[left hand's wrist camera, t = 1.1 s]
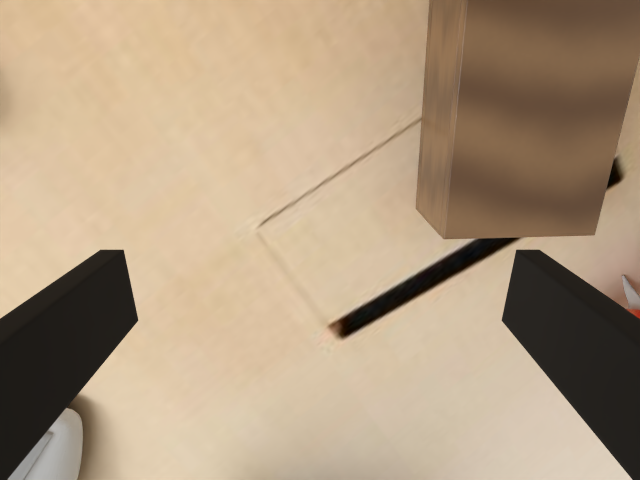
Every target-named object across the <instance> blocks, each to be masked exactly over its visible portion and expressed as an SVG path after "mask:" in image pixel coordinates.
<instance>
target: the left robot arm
mask: <svg viewBox="0 0 640 480" xmlns="http://www.w3.org/2000/svg"><path fill="white" fill-rule="evenodd" d="M137 321H138V317H137V312H136V307H135V302H134V298H133V293H132V288H131V283H130V278H129V273H128V269H127V264H126V259H125V254H124V250H100V251H98V252H97V253H95V254H94V255H92V256H91V257H90V258H88V259H87V260H85V261H84V262H82V263H81V264H79V265H78V266H76V267H75V268H74V269H72V270H71V271H69V272H68V273H66V274H65V275H63V276H62V277H60V278H59V279H57V280H56V281H55V282H53V283H52V284H50V285H49V286H47V287H46V288H44V289H43V290H41V291H40V292H39V293H37V294H36V295H34V296H33V297H31V298H30V299H28V300H27V301H25V302H24V303H23V304H21V305H20V306H18V307H17V308H15V309H14V310H12V311H11V312H9V313H8V314H6V315H5V316H4V317H2V318H1V319H0V480H7V479H8V478H9V477H10V476H11V475H12V473H13V472H14V471H15V470H16V468H17V467H18V466H19V465H20V464H21V462H22V461H23V460H24V459H25V458H26V456H27V455H28V454H29V453H30V451H31V450H32V449H33V448H34V447H35V445H36V444H37V443H38V442H39V441H40V439H41V438H42V437H43V436H44V434H45V433H46V432H47V431H48V430H49V428H50V427H51V426H52V425H53V423H54V422H55V421H56V420H57V419H58V417H59V416H60V415H61V414H62V413H63V411H64V410H65V409H66V408H67V406H68V405H69V404H70V403H71V402H72V400H73V399H74V398H75V397H76V396H77V394H78V393H79V392H80V391H81V389H82V388H83V387H84V386H85V385H86V383H87V382H88V381H89V380H90V378H91V377H92V376H93V375H94V374H95V372H96V371H97V370H98V369H99V368H100V366H101V365H102V364H103V363H104V361H105V360H106V359H107V358H108V357H109V355H110V354H111V353H112V352H113V350H114V349H115V348H116V347H117V346H118V344H119V343H120V342H121V341H122V340H123V338H124V337H125V336H126V335H127V333H128V332H129V331H130V330H131V329H132V327H133V326H134V325H135V324H136V323H137ZM502 321H503V323H504V324H505V325H506V326H507V327H508V329H509V330H510V331H511V332H512V333H513V335H514V336H515V337H516V338H517V340H518V341H519V342H520V343H521V344H522V346H523V347H524V348H525V349H526V350H527V352H528V353H529V354H530V355H531V357H532V358H533V359H534V360H535V361H536V363H537V364H538V365H539V366H540V368H541V369H542V370H543V371H544V372H545V374H546V375H547V376H548V377H549V378H550V380H551V381H552V382H553V383H554V385H555V386H556V387H557V388H558V389H559V391H560V392H561V393H562V394H563V396H564V397H565V398H566V399H567V400H568V402H569V403H570V404H571V405H572V406H573V408H574V409H575V410H576V411H577V413H578V414H579V415H580V416H581V417H582V419H583V420H584V421H585V422H586V423H587V425H588V426H589V427H590V428H591V430H592V431H593V432H594V433H595V434H596V436H597V437H598V438H599V439H600V441H601V442H602V443H603V444H604V445H605V447H606V448H607V449H608V450H609V451H610V453H611V454H612V455H613V456H614V458H615V459H616V460H617V461H618V462H619V464H620V465H621V466H622V467H623V468H624V470H625V471H626V472H627V473H628V475H629V476H630V477H631V478H632V479H633V480H640V319H639V318H638V317H636V316H635V315H634V314H632V313H631V312H629V311H628V310H626V309H625V308H623V307H622V306H620V305H619V304H617V303H616V302H615V301H613V300H612V299H610V298H609V297H607V296H606V295H604V294H603V293H601V292H600V291H599V290H597V289H596V288H594V287H593V286H591V285H590V284H588V283H587V282H585V281H584V280H583V279H581V278H580V277H578V276H577V275H575V274H574V273H572V272H571V271H569V270H568V269H566V268H565V267H564V266H562V265H561V264H559V263H558V262H556V261H555V260H553V259H552V258H550V257H549V256H548V255H546V254H545V253H543V252H542V251H540V250H516V254H515V259H514V264H513V269H512V273H511V278H510V283H509V288H508V293H507V298H506V302H505V307H504V312H503V317H502Z"/></svg>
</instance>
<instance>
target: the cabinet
mask: <svg viewBox="0 0 640 480" xmlns="http://www.w3.org/2000/svg"><path fill="white" fill-rule="evenodd" d="M639 56H640V0H430V3H429V18H428V33H427V48H426V63H425V78H424V93H423V108H422V123H421V138H420V153H419V168H418V183H417V198H416V209H417V210H418V212H419V213H420V214H421V215H422V216H423V217H424V218H425V219H426V220H427V222H428V223H429V224H430V225H431V226H432V227H433V228H434V229H435V230H436V232H437V233H438V234H439V235H440V236H441V237H442V238H443V239H471V238H509V237H547V236H586V235H595V232H596V228H597V224H598V220H599V216H600V212H601V208H602V204H603V200H604V196H605V192H606V188H607V184H608V180H609V176H610V172H611V168H612V164H613V160H614V156H615V152H616V148H617V144H618V140H619V136H620V132H621V128H622V124H623V120H624V116H625V112H626V108H627V104H628V100H629V96H630V92H631V88H632V84H633V80H634V76H635V72H636V68H637V64H638V60H639Z"/></svg>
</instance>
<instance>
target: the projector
mask: <svg viewBox="0 0 640 480" xmlns="http://www.w3.org/2000/svg"><path fill="white" fill-rule="evenodd" d="M82 445H83V427H82V420H81V418H80V416H79V414H78V413H76V412H75V411H74V410H72V409H68V408H66V409H65V410H64V411H63V413H62V414H61V415H60V416H59V417H58V419H57V420H56V421H55V422H54V423H53V425H52V426H51V427H50V428H49V430H48V431H47V432H46V433H45V434H44V436H43V437H42V438H41V439H40V441H39V442H38V443H37V444H36V445H35V447H34V448H33V449H32V450H31V451H30V453H29V454H28V455H27V456H26V458H25V459H24V460H23V461H22V462H21V464H20V465H19V466H18V467H17V468H16V470H15V471H14V472H13V473H12V475H11V476H10V477H9V478H8V479H7V480H77V479H78V475H79V470H80V465H81V457H82Z"/></svg>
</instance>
